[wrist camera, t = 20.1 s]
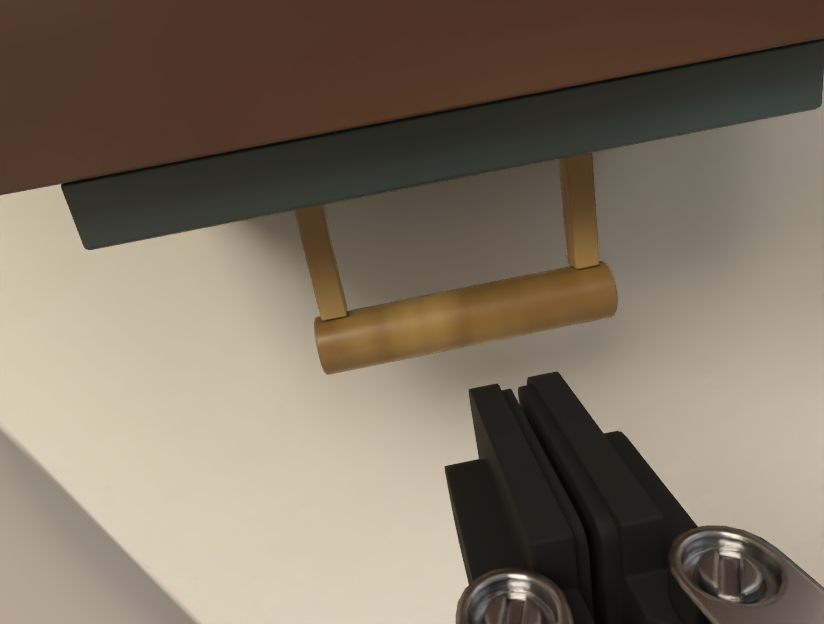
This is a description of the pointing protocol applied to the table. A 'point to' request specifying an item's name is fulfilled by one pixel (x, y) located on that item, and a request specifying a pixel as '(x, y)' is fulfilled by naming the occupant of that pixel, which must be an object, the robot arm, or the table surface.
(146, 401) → the table surface
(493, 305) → the drawer
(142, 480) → the table surface
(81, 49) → the cabinet
